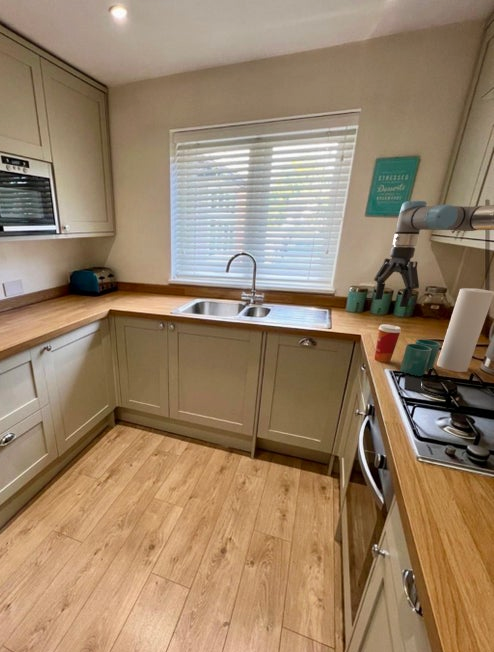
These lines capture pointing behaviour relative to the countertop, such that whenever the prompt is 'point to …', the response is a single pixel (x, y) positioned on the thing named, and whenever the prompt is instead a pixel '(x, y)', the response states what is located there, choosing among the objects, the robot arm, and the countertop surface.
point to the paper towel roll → (464, 329)
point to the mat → (415, 386)
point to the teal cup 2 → (434, 351)
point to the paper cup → (386, 342)
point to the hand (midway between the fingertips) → (390, 303)
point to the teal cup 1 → (415, 359)
